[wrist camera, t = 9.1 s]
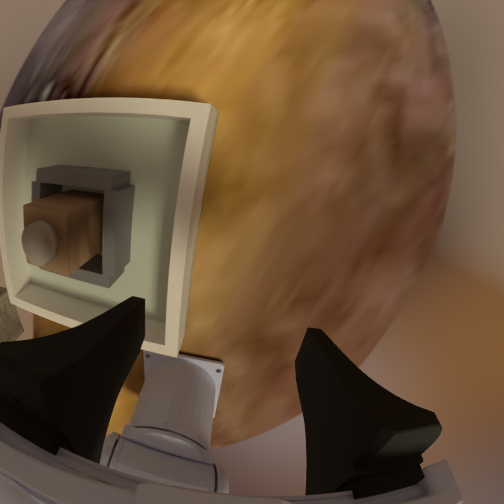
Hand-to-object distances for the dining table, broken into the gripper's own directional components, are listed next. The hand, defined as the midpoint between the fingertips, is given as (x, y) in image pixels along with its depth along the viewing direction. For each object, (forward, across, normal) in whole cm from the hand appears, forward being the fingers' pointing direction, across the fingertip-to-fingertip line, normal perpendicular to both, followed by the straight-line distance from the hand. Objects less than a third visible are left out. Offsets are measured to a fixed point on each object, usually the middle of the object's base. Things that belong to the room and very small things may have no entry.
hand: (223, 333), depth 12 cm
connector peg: (+9, +12, -1) cm, 15 cm away
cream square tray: (+10, +12, -1) cm, 16 cm away
